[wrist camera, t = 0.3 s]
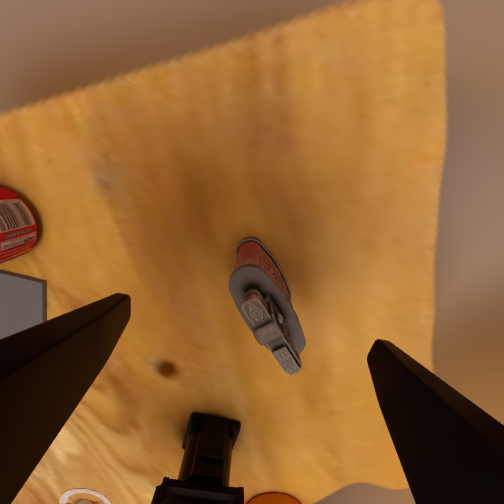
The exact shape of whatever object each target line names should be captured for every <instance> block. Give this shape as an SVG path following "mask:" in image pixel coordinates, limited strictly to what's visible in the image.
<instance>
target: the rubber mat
mask: <svg viewBox="0 0 504 504" xmlns="http://www.w3.org/2000/svg"><path fill="white" fill-rule="evenodd" d="M45 321H46V281H44V280H40V279H36V278H32V277H28V276H24V275H19V274H15V273H11V272H7V271H3V270H0V339H2V338H5V337H7V336H10V335H13V334H15V333H18V332H20V331H23V330H25V329H28V328H30V327H33V326H35V325H38V324H40V323H43V322H45Z"/></svg>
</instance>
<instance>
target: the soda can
mask: <svg viewBox="0 0 504 504" xmlns="http://www.w3.org/2000/svg"><path fill="white" fill-rule="evenodd" d="M36 239H37V224H36V221H35V218H34V216H33V214H32V212H31V210H30V209H29V207H28V206H27V205H26V204H25V202H24V201H23V200H22V199H21V198H20V197H18V196H17V195H16V194H15V193H13V192H12V191H10V190H8V189H6V188H4V187H2V186H0V265H1V264H4V263H6V262H9V261H11V260H13V259H15V258H17V257H19V256H21V255H23V254H25V253H27V252H28V251H29V250H31V249H32V247H33V246H34V244H35V242H36Z"/></svg>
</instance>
